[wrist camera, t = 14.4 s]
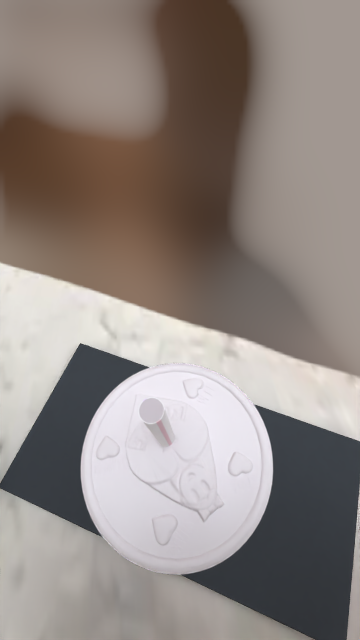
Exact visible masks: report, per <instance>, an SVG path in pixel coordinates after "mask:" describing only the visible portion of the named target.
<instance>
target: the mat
mask: <svg viewBox="0 0 360 640" xmlns="http://www.w3.org/2000/svg"><path fill="white" fill-rule="evenodd" d="M147 368H149V367H146V366H144V365H141V364H138V363H135V362H132V361H129V360H127V359H124V358H121V357H118V356H115V355H112V354H110V353H107V352H104V351H101V350H98V349H95V348H92V347H90V346H87V345H84V344H81V343H80V345H79V346H78V348H77V350H76V352H75V353H74V355H73V357H72V359H71V360H70V362H69V364H68V366H67V367H66V369H65V371H64V373H63V374H62V376H61V378H60V380H59V381H58V383H57V385H56V387H55V388H54V390H53V392H52V394H51V395H50V397H49V399H48V401H47V402H46V404H45V406H44V408H43V409H42V411H41V413H40V415H39V416H38V418H37V420H36V422H35V423H34V425H33V427H32V429H31V430H30V432H29V434H28V436H27V437H26V439H25V441H24V443H23V444H22V446H21V448H20V450H19V451H18V453H17V455H16V457H15V458H14V460H13V462H12V464H11V465H10V467H9V469H8V471H7V472H6V474H5V476H4V478H3V479H2V481H1V483H0V488H1V489H3V490H5V491H7V492H10V493H12V494H14V495H16V496H18V497H20V498H22V499H24V500H26V501H28V502H30V503H32V504H35V505H37V506H39V507H41V508H43V509H45V510H47V511H49V512H51V513H53V514H55V515H57V516H59V517H62V518H64V519H66V520H68V521H70V522H72V523H74V524H76V525H78V526H80V527H82V528H84V529H87V530H89V531H91V532H93V533H95V534H97V535H99V536H101V537H102V535H101V534H100V532H99V531H98V529H97V528H96V526H95V524H94V522H93V520H92V518H91V516H90V514H89V511H88V509H87V506H86V502H85V499H84V495H83V490H82V483H81V456H82V449H83V444H84V440H85V437H86V434H87V431H88V428H89V425H90V423H91V421H92V419H93V417H94V415H95V413H96V411H97V410H98V408H99V407H100V405H101V404H102V402H103V401H104V400H105V399H106V397H107V396H108V395H109V394H110V393H111V392H112V391H113V390H114V389H115V388H116V387H117V386H118V385H119V384H121V383H122V382H123V381H125V380H126V379H127V378H129V377H131V376H132V375H134V374H136V373H138V372H140V371H142V370H145V369H147ZM254 406H255V407H256V409H257V411H258V412H259V414H260V416H261V418H262V420H263V422H264V425H265V427H266V430H267V433H268V436H269V440H270V444H271V449H272V457H273V479H272V486H271V492H270V496H269V500H268V503H267V506H266V509H265V512H264V514H263V516H262V518H261V520H260V522H259V524H258V526H257V527H256V529H255V531H254V532H253V533H252V535H251V536H250V537H249V539H248V540H247V541H246V542H245V543H244V544H243V545H242V546H241V548H240V549H239V550H237V551H236V552H235V553H234V554H233V555H231V556H230V557H229V558H227V559H226V560H224V561H222V562H221V563H219V564H217V565H215V566H213V567H211V568H208V569H205V570H202V571H199V572H195V573H190V574H180V575H182V576H184V577H186V578H189V579H191V580H193V581H195V582H197V583H199V584H201V585H203V586H205V587H207V588H209V589H211V590H214V591H216V592H218V593H220V594H222V595H224V596H226V597H228V598H230V599H232V600H234V601H236V602H238V603H241V604H243V605H245V606H247V607H249V608H251V609H253V610H255V611H257V612H259V613H261V614H263V615H266V616H268V617H270V618H272V619H274V620H276V621H278V622H280V623H282V624H284V625H286V626H288V627H291V628H293V629H295V630H297V631H299V632H301V633H303V634H305V635H307V636H309V637H311V638H313V639H316V640H347V628H348V616H349V604H350V592H351V580H352V569H353V557H354V545H355V533H356V521H357V509H358V497H359V485H360V441H357V440H354V439H351V438H348V437H345V436H343V435H340V434H337V433H334V432H331V431H328V430H326V429H323V428H320V427H317V426H314V425H311V424H308V423H306V422H303V421H300V420H297V419H294V418H291V417H289V416H286V415H283V414H280V413H277V412H274V411H272V410H269V409H266V408H263V407H260V406H257V405H254Z"/></svg>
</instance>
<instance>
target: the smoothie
mask: <svg viewBox="0 0 360 640" xmlns="http://www.w3.org/2000/svg"><path fill="white" fill-rule="evenodd" d="M272 479H273V457H272V449H271V444H270V440H269V436H268V433H267V430H266V427H265V425H264V422H263V420H262V418H261V416H260V414H259V412H258V411H257V409H256V407H255V406H254V404H253V403H252V402H251V400H250V399H249V398H248V396H247V395H246V394H245V393H244V392H243V391H242V390H241V389H240V388H239V387H238V386H237V385H236V384H234V383H233V382H232V381H230V380H229V379H227V378H226V377H224V376H223V375H221V374H219V373H217V372H215V371H213V370H210V369H208V368H205V367H202V366H198V365H193V364H186V363H170V364H162V365H157V366H154V367H150V368H147V369H145V370H142V371H140V372H138V373H136V374H134V375H132V376H131V377H129V378H127V379H126V380H125V381H123V382H122V383H121V384H119V385H118V386H117V387H116V388H115V389H114V390H113V391H112V392H111V393H110V394H109V395H108V396H107V397H106V399H105V400H104V401H103V402H102V404H101V405H100V407H99V408H98V410H97V411H96V413H95V415H94V417H93V419H92V421H91V423H90V425H89V428H88V431H87V434H86V437H85V440H84V444H83V449H82V456H81V483H82V490H83V495H84V499H85V502H86V506H87V509H88V511H89V514H90V516H91V518H92V520H93V522H94V524H95V526H96V528H97V529H98V531H99V532H100V534H101V535H102V537H103V538H104V539H105V540H106V541H107V543H108V544H109V545H110V546H111V547H112V548H113V549H114V550H115V551H116V552H117V553H119V554H120V555H121V556H123V557H124V558H125V559H127V560H128V561H130V562H132V563H134V564H135V565H137V566H139V567H142V568H144V569H147V570H150V571H153V572H157V573H163V574H176V575H180V574H190V573H195V572H199V571H202V570H205V569H208V568H211V567H213V566H215V565H217V564H219V563H221V562H222V561H224V560H226V559H227V558H229V557H230V556H231V555H233V554H234V553H235V552H236V551H237V550H239V549H240V548H241V546H242V545H243V544H244V543H245V542H246V541H247V540H248V539H249V537H250V536H251V535H252V533H253V532H254V531H255V529H256V527H257V526H258V524H259V522H260V520H261V518H262V516H263V514H264V512H265V509H266V506H267V503H268V500H269V496H270V492H271V486H272Z"/></svg>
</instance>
